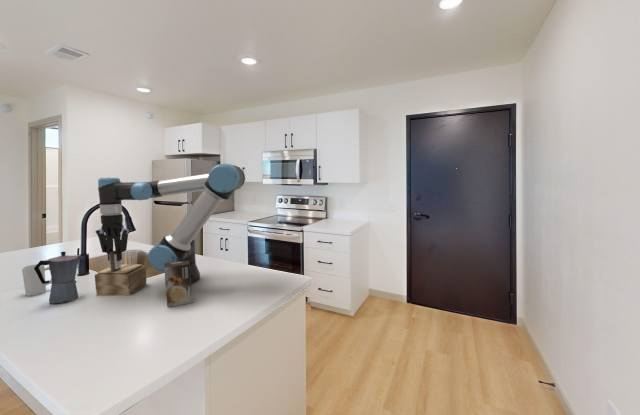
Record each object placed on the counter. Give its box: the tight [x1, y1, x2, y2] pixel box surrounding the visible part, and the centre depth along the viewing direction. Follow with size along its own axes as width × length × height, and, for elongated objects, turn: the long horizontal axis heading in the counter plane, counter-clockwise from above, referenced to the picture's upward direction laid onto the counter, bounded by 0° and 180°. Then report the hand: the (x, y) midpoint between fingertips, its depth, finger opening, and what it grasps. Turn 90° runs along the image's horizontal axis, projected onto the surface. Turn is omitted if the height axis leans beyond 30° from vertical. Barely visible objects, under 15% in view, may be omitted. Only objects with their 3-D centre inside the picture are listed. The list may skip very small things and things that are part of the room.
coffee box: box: [163, 261, 193, 308], centre depth 113 cm, size 9×6×16 cm
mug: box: [21, 263, 52, 297], centre depth 123 cm, size 10×7×12 cm, turn 139°
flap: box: [96, 250, 144, 274], centre depth 125 cm, size 12×11×9 cm
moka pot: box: [34, 251, 83, 304], centre depth 115 cm, size 10×15×20 cm, turn 161°
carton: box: [94, 265, 148, 296], centre depth 126 cm, size 15×12×9 cm
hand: (115, 267), depth 122 cm, fingers closed on flap
